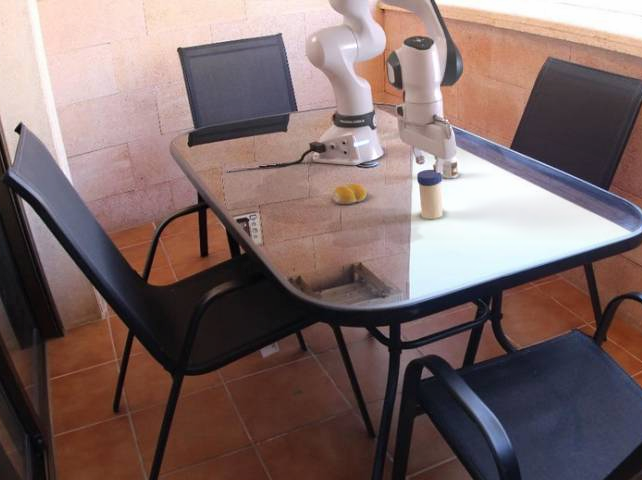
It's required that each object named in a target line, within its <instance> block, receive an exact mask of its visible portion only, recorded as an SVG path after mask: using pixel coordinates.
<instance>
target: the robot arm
mask: <svg viewBox="0 0 642 480" xmlns="http://www.w3.org/2000/svg"><path fill="white" fill-rule="evenodd" d="M377 1H378V2H379V3H382V4H383V5H387V6H391V7H394V8H400V9H403V10H405V11H409V12H410V13H413V14H415V15H416V16H417V17H418V18H419V20H420V21H421V23H422V24H423V26H424V29H425V31H426V34H427V36H423V35H413V36H410V37H407V38H405V39H403V41H402V43H401V47H399V48H397V49H394V50H392V51H391V52H390V54H389V55H388V57H387V58H386V61H385V64H386V74H387V80H388V83H389V84H390V85H391V86H392V87H393V88H395V89H396V90H398V91H405V104H403V103H402V104H398V105H396V106H395V108H394V109H395V114H396V115H397V129H398V136H399V138H400V140H401V142H402V143H404V144H406V145H409V146H411V151H412V153H413V156H414V158H415V164H417V165H419V166H420V165H424V164H425V162H426V160H425V156H424V155H423V152H424V153H427V154H430V155H432V156H434V160H435V164H433V165H432V167H433V169H432V170H434V171H435V172H437V173H440V172H441V173H443V172H442V171H443V163H444V160H446V159H450V158H453V157H456V155H457V143H456V137H455V132H454V129H453V127H452V125H451V124H450V123H449V120H448V119H447V118H446V117H444V116H445V115H444V103H443V102H444V100H443V94H442V91H441V88H442V87H444V88H445V87H453V86H454V85H455V84H456V83H457V82H458V81H459V80H460V78H461V77H462V75H463V72H464V61H463V56H462V54H461V51H460V50H459V48H458V46H457V45H456V43H455V41H454V40H453V38H452V35H451V34H450V32H449V30H448V27H447V25H446V22H445V20H444V18H443V15H442V13H441V11H440V9H439V7H438V5H437V2H436V0H377ZM328 3H329V5H330V7H331V8H332V9H333V10H334V11H335V12H337V13H338V14H340V15H342V17H343V20H342V21H343V22H342V24H339V25H333V26H328V27H323V28H321V29H319V30H316V31H313V32H312V33H310V34H309V35H308V36H307V37H306V41H305V46H304V47H305V48H304V49H305V54H306V57H307V59H308V61H309V63H311V64H312V66H313V67H314V68H316V69H318V70H319V71H321V72H322V73H323V74H324V75H325V76H326V78H327V79H328V80H329V82H330V84H331V87H332V90H333V95H334V99H335V104H336V110H334V113H333V114H332V115H331V117H330V119H331V122H332V123H333V124H332V125H331V126H330V127H328V129H327V130H326V131H325V132H324V133H323V134H322V135H321V136H320V137H319V140H318V141H312V142H309V143H308V144H309V149H307V150H306V151H304V152H303V153H302V154H301V156H300V158H299V159H298V160H295V161H291V162H279V164H278V163H275V164H276V165H268V164H266V165H267V166H259V167H260V168H259V169H267V168H269V169H270V168H278V167H279V168H280V167H288V166H293V165H298V164H300V163H302V162H303V161H304V159H305V158H306V156H307V155H309V154H310V153H312V152H313V155H312V162H314V163H324V164H334V165H335V164H336V165H345V166H346V165H347V166H357V165H360V164H362V163H366V162H371V161H374V160H377V159H379V158H381V157H383V155H384V150H383V147H382V145H381V142H380V138H379V134H378V129H377V126H378V125H377V124H378V122H377V115H376V110H375V108H374V102H373V96H372V95H373V94H372V87H371V84H370V83H369V81H368V80H367V79H365V77H362V76H359V75H357V74H356V73H355V70H354V64H358V63H363V62H366V61H371V60H373V59H375V58H377V57H378V56H380V55H382V54H383V53H384V52H385V49H386V45H387V38H386V32H385V31H384V29H383V28H382V26H381V25H380V24H379V23H378V22H377V21H375V20H374V18H373V15H372V13H371V10H370V0H328ZM280 163H281V164H280Z"/></svg>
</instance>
